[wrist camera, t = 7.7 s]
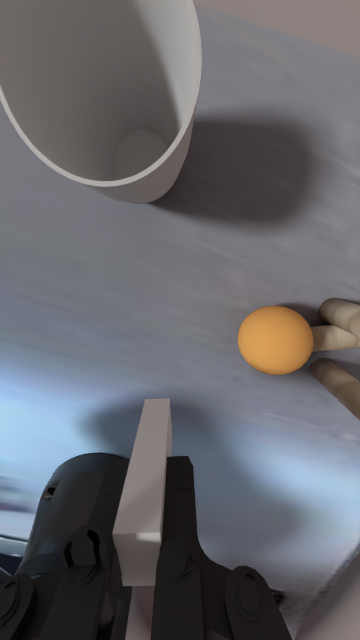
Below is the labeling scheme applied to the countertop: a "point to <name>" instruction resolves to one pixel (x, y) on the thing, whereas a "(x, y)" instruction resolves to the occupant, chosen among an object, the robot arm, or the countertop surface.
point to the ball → (275, 340)
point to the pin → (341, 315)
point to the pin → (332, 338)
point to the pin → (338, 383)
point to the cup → (103, 89)
